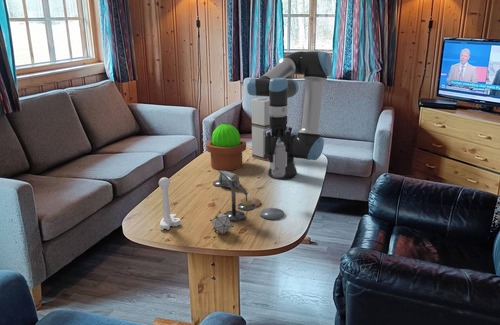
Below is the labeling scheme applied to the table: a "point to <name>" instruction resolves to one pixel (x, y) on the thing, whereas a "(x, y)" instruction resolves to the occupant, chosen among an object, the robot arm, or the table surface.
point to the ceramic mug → (231, 175)
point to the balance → (245, 203)
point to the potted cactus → (226, 148)
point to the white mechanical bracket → (167, 207)
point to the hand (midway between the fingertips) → (278, 167)
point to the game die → (221, 223)
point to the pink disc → (254, 201)
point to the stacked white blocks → (260, 127)
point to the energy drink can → (279, 160)
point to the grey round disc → (272, 213)
